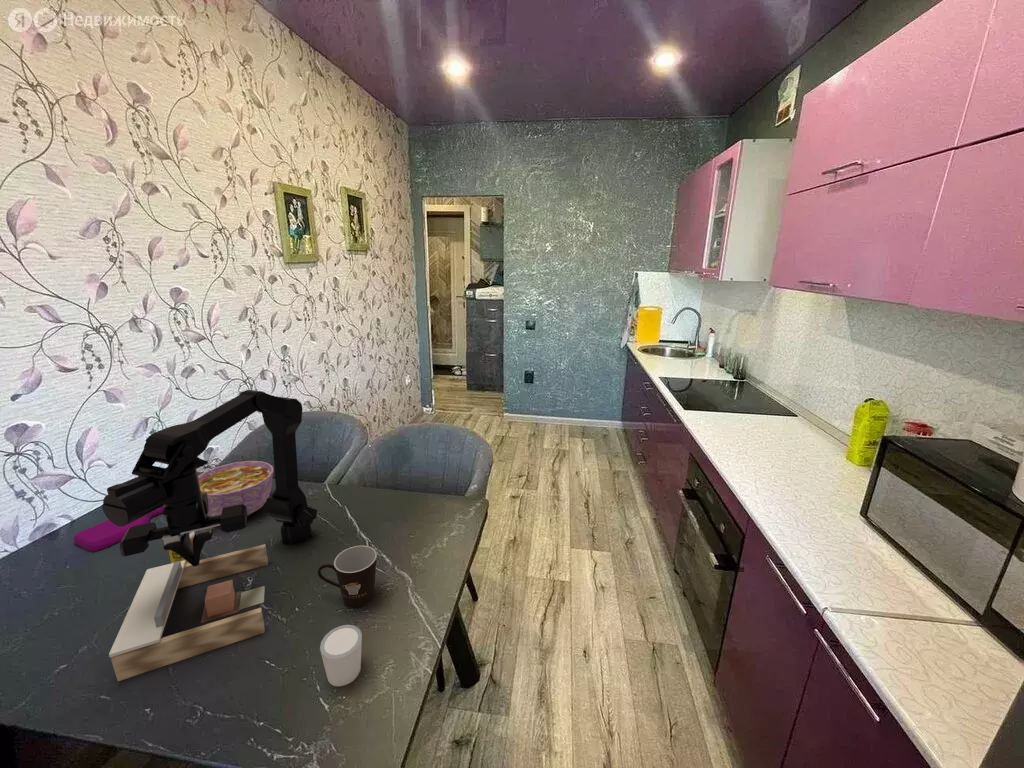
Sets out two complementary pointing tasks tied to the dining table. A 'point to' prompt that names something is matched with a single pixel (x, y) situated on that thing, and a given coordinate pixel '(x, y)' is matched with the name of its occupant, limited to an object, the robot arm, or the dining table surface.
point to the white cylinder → (342, 654)
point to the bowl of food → (237, 486)
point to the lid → (149, 609)
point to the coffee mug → (354, 575)
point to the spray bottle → (108, 533)
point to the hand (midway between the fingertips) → (196, 564)
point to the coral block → (220, 598)
